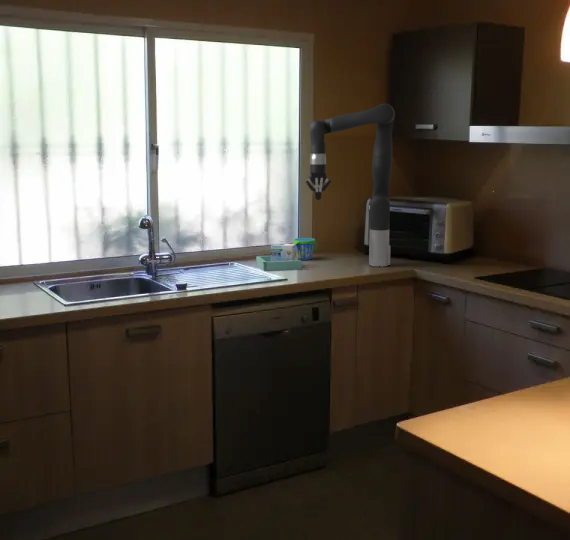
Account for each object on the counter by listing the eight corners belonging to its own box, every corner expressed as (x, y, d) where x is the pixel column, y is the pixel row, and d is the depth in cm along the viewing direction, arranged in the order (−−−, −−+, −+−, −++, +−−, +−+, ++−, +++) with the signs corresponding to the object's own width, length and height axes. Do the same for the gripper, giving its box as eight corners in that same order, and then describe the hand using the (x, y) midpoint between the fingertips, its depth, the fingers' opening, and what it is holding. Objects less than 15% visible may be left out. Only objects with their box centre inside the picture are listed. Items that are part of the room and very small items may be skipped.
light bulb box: (270, 267, 355) (270, 244, 353) (273, 265, 361) (273, 242, 359) (292, 268, 353) (292, 245, 351) (295, 266, 359) (295, 243, 357)
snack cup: (298, 262, 369) (298, 241, 367) (285, 259, 377) (285, 239, 375) (323, 259, 378) (323, 239, 376) (309, 256, 386) (310, 236, 384)
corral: (292, 262, 367) (292, 254, 366) (301, 269, 350) (301, 260, 349) (255, 264, 363) (255, 256, 362) (263, 270, 346) (263, 262, 345)
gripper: (328, 162, 363) (328, 199, 366) (302, 163, 360) (302, 199, 363) (333, 163, 356) (333, 200, 359) (306, 163, 353) (306, 200, 356)
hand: (317, 199), depth 361 cm, fingers closed
